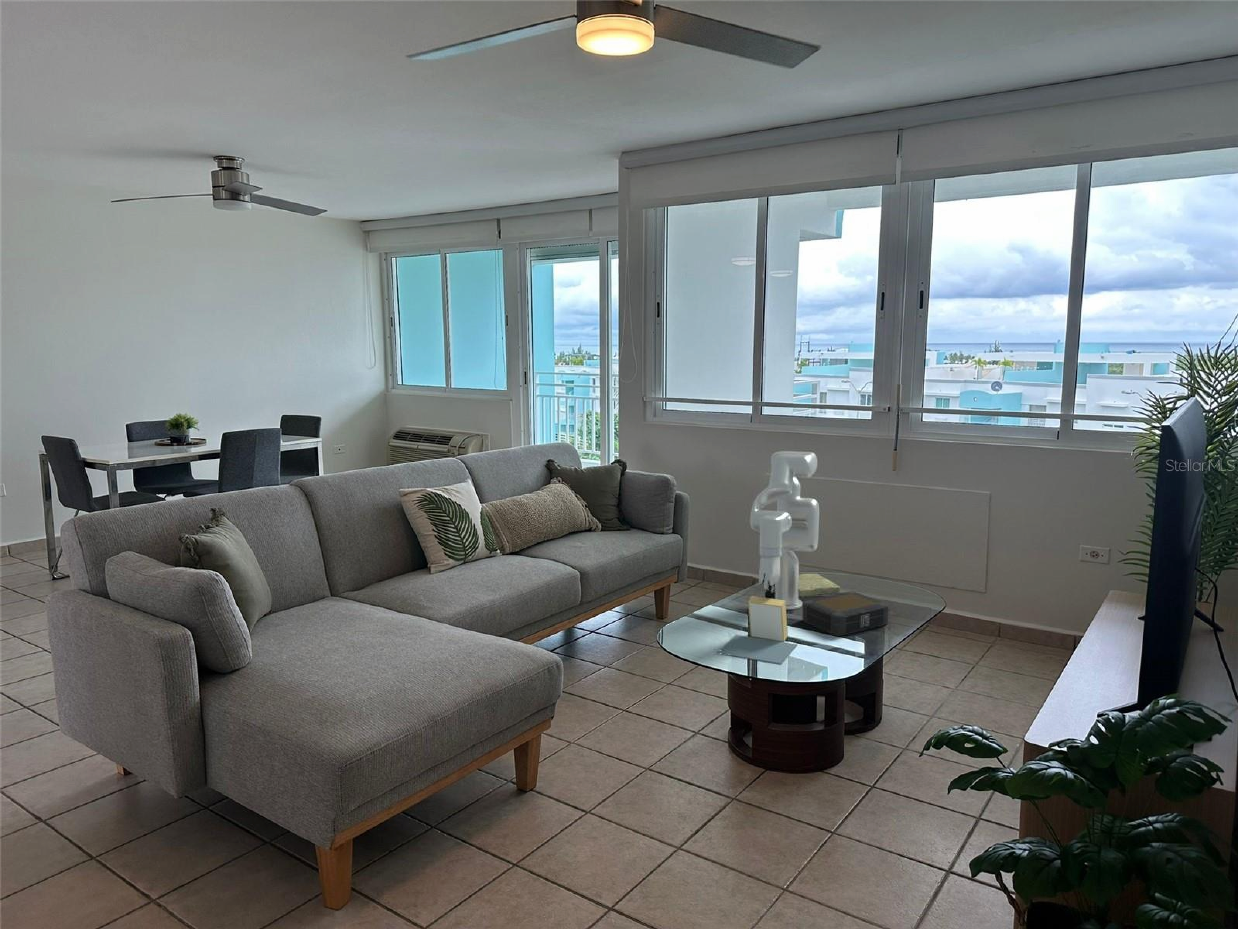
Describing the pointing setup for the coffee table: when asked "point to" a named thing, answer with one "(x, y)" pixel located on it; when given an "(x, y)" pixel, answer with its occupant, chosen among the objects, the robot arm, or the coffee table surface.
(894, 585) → the coffee table surface
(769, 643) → the mat
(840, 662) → the coffee table surface
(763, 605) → the pale yellow block
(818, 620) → the cash box
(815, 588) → the decorative tile
